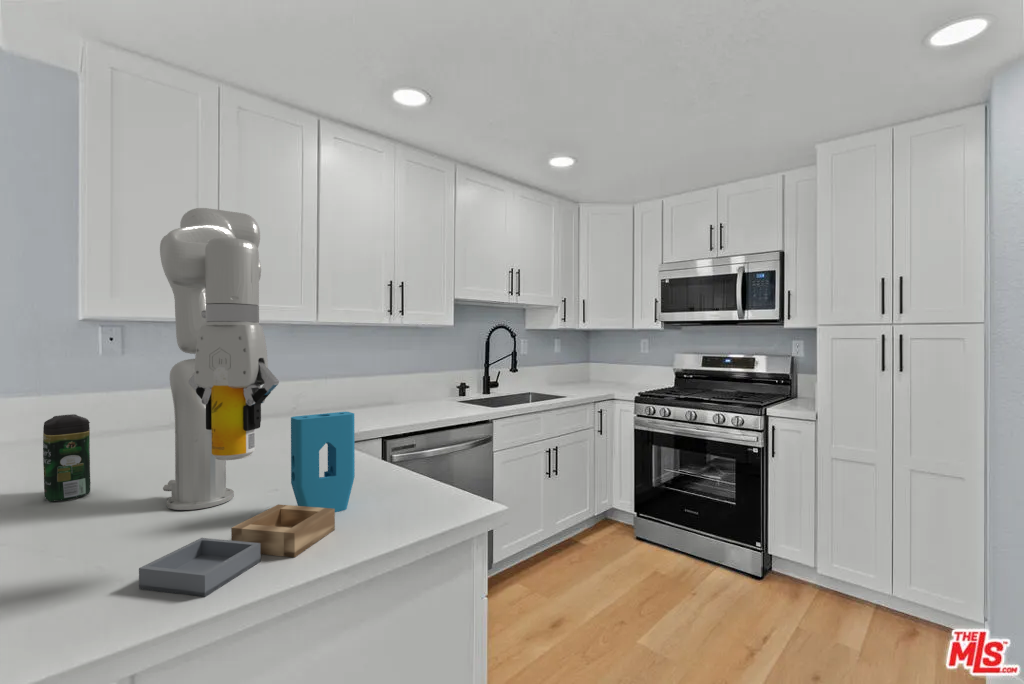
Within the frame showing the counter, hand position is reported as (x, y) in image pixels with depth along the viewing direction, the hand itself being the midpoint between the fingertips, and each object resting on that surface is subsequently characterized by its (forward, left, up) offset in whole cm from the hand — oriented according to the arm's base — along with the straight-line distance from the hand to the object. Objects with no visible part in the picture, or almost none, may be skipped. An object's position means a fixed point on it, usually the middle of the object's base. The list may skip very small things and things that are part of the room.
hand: (233, 427), depth 79 cm
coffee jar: (-62, +21, -22) cm, 70 cm away
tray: (-1, -5, -22) cm, 22 cm away
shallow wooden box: (+3, +9, -22) cm, 24 cm away
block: (+1, +24, -22) cm, 33 cm away
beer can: (0, 0, -5) cm, 5 cm away
